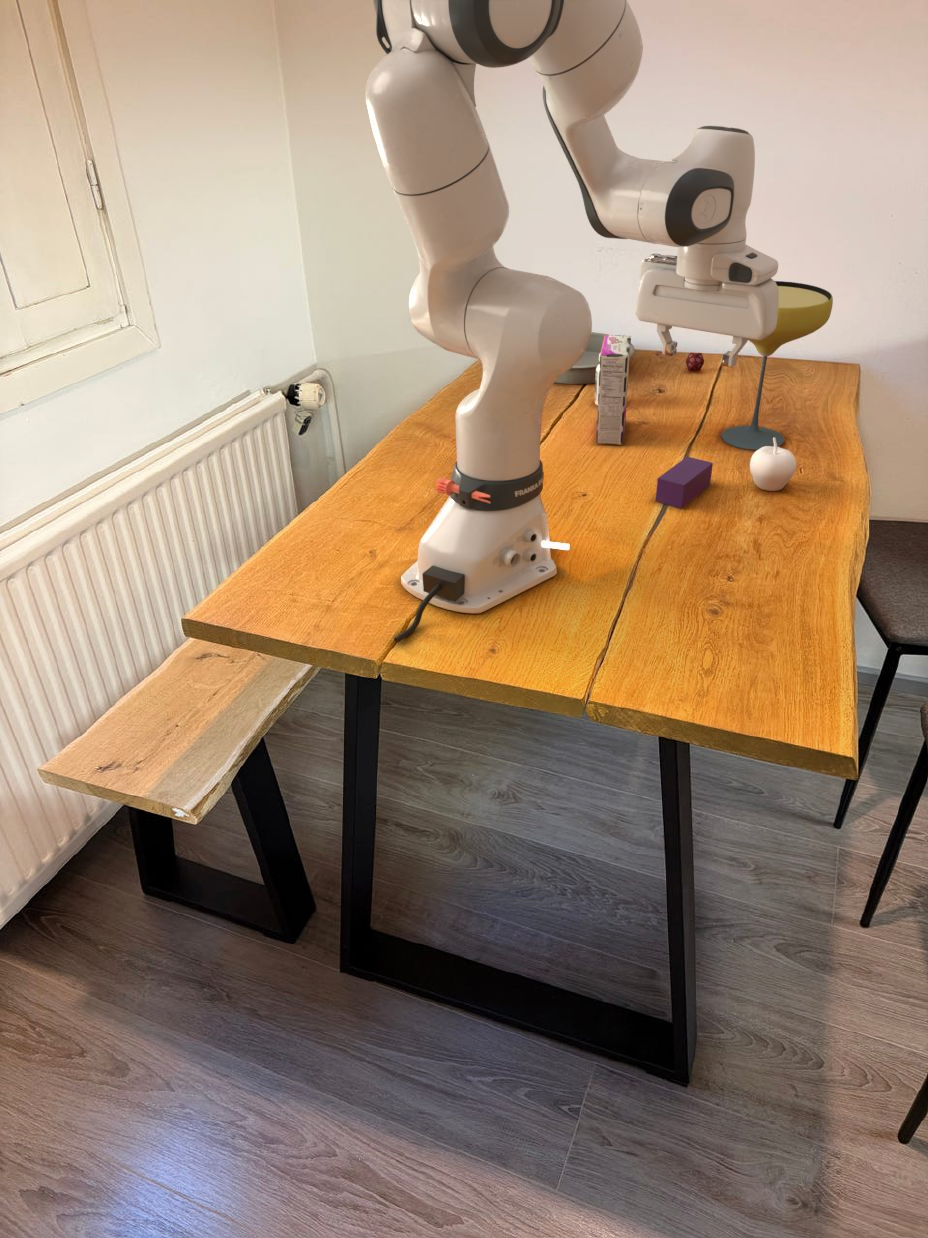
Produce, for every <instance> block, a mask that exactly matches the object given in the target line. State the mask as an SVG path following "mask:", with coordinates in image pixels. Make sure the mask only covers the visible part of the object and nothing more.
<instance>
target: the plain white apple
mask: <svg viewBox="0 0 928 1238" xmlns="http://www.w3.org/2000/svg"><path fill="white" fill-rule="evenodd" d="M773 443H774V447H772V446H765V447H762V448H760V449H758V450H755V452H754V453H753V454H752V456H751V457H750V460H749V471H750V474H751V477H752V479H753V483H754V485H755V486H756V487H758V488H759V489H760V490H762V491H766V492H777V491H780V490H782V489H784V487H785V486H786V485H787V484H788V482H789V481H790V480H791V479H792V477H793V476H794V474H795V472H796V470H797V458H796V456H795V455H794V454H793V452H792V451H791V450H790V449H786V448H783V447H781V446H779V447H777V443H776V438H773Z"/></svg>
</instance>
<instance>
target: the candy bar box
mask: <svg viewBox="0 0 928 1238" xmlns="http://www.w3.org/2000/svg"><path fill="white" fill-rule="evenodd" d="M631 342H632V335H625V334H624V335H623V334H622V335H621V334H614V335H613V334H608V335H605V336H604V341H603V345H602V349H601V353H600V372H599V396H598V406H597V420H596V421H597V422H596V440H595V441H596V442H595V443H596V444H597V445H602V446H603V445H604V446H623V442H624V437H625V429H626V423H627V420H626V419H627V405H628V404H627V403H628V387H629V374H630V373H629V372H630V358H631V357H630V345H631V344H632V343H631Z"/></svg>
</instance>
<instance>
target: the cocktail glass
mask: <svg viewBox="0 0 928 1238" xmlns="http://www.w3.org/2000/svg"><path fill="white" fill-rule="evenodd" d="M774 281H775V282H776V284H777V286H778V291H779V305H778V317H777V324H776V328H775V330H774V331H773V332H772V333H771V334H770V335H769V336H768V337H766V338H764V339H763V340H754V339H748V342H750V343H752V344H753V346H754V347H755V349H756V351H757V353H758V354H759V355H760V356H762V363H761V368H760V369H761V370H760V377H759V381H758V388H757V394H756V400H755V406H754V410H753V415H752V419H751V422H750V425H737V426H732V427H729V428H726V429H724V430H723V431H722V433H721V434H720V437H721V440H722V441H723V442H724V443H725V444H727V445H728V446H731V447H734V448H737V449H742V450H746V451H747V450H748V451H757V450H758V449H760V448H762V447H765V446H772V447H774V443H773V438H776V443H777V447H781V446H782V445H783V444H784V443H785V437H784V436H783V435H782V433H780V432H779V431H777V430H774V429H771V428H768V427H764V426H759V417H760V416H759V414H760V407H761V406H760V405H761V398H762V394H763V393H762V392H763V385H764V379H765V374H766V367H767V359H768V357H770V356H772V355H773V354H774V353H775V352H776V351H777V350H778V349H779V348H780V347H782V346H783V345H785V344H788V343H790V342H792V341H795V340H800V339H802V338H804V337H806V336H809V335H810V334H813V333H815V332H816V331H818V330H819V329H821V328H822V327H824V326H825V325H826V324H827V323H828V321H829V319H830V317H831V314H832V311H833V304H834V298H833V295H832V293H831V292H830V291H828V290H827V289H824V288H822V287H819V286H816V285H813V284H812V285H811V284H808V283H802V282H794V281H783V280H781V281H780V280H774Z"/></svg>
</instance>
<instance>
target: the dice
mask: <svg viewBox="0 0 928 1238" xmlns="http://www.w3.org/2000/svg"><path fill="white" fill-rule="evenodd" d="M685 364H686V368H687V371H689V372H700V371H701V370H702V368H703V366H704V364H705V358H704V355H703V353H702V352H689V354H688V356H687V357H686V359H685Z"/></svg>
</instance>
